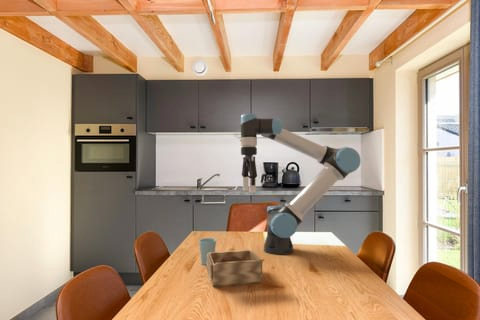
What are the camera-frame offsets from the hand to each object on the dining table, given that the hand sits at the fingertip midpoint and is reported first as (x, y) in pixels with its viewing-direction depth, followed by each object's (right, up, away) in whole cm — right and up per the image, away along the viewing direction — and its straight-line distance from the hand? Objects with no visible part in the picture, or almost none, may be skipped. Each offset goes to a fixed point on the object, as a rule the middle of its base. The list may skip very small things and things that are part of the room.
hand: (249, 191), depth 148 cm
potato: (-7, -31, -25) cm, 40 cm away
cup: (-19, -32, -8) cm, 38 cm away
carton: (-7, -31, -25) cm, 41 cm away
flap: (-5, -23, -34) cm, 41 cm away
